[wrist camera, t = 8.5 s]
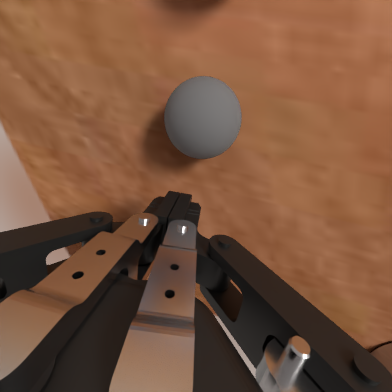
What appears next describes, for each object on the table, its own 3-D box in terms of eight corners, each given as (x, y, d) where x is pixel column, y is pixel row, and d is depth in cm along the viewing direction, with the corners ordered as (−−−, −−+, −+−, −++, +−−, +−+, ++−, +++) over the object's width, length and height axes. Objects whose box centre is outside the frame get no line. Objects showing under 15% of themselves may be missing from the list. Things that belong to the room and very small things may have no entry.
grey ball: (262, 140, 12) (255, 102, 16) (191, 71, 10) (202, 46, 14) (202, 185, 15) (208, 145, 19) (140, 141, 13) (160, 106, 17)
